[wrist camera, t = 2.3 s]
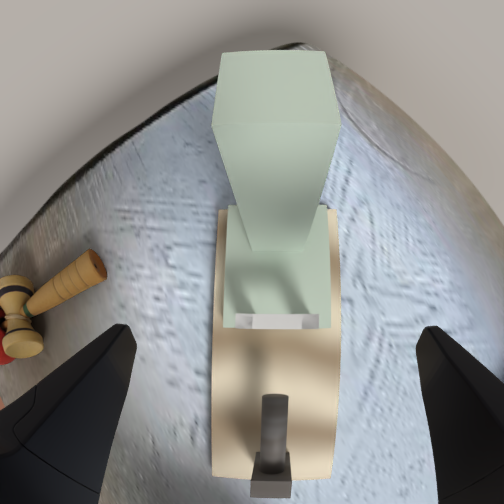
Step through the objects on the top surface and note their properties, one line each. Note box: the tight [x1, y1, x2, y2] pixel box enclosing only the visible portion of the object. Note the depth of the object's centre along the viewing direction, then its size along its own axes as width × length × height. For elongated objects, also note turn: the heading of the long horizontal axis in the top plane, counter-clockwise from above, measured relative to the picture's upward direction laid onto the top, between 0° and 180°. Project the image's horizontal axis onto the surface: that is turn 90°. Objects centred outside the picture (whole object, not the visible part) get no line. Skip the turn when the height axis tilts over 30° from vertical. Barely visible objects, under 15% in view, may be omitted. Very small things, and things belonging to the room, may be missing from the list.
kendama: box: [0, 249, 107, 365], centre depth 20 cm, size 8×6×18 cm
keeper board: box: [211, 209, 341, 498], centre depth 17 cm, size 21×9×6 cm, turn 179°
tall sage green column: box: [211, 50, 341, 329], centre depth 14 cm, size 8×7×14 cm
